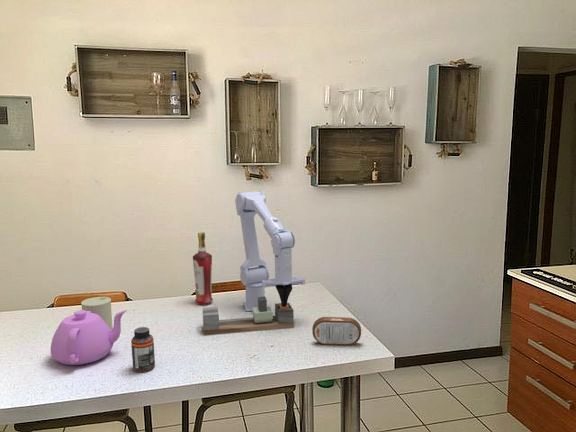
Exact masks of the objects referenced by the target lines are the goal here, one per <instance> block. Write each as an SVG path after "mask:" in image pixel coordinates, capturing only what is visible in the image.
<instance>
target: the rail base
mask: <svg viewBox="0 0 576 432" xmlns="http://www.w3.org/2000/svg"><path fill="white" fill-rule="evenodd" d="M280 304H281V302H279V303H278V302H276V303H274V315H273V319H272V322H260V323H254V318H253V316H252V317H241V318H239V317H238V318H229V319H219V317H220V316H219V310H218V306H206V307H202V326H203V327H202V328H203V329H202V330H203V336H210V335H211V336H212V335H222V334H233V333H246V332H256V331H257V332H259V331H267V330H268V331H269V330H279V329H291V328H292V329H293V328H295V322H294V321H295V320H294V315H295V314H294V308H293V307H292V305H291V303H289V302H287V304H288V306H289V308H286V309H279V305H280Z"/></svg>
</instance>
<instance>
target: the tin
mask: <svg viewBox="0 0 576 432" xmlns="http://www.w3.org/2000/svg"><path fill="white" fill-rule="evenodd" d="M311 330H312V336H313V338H314V340H315V341H316V342H317V343H318V344H320V345H325V346H326V345H327V346H353V345H355V344H357V343H358V342H359V341H360V339H361V335H362V327H361V324H360V323H359V322H358V320H357V319H354V318H352V317H345V316H344V317H341V316H339V317H336V316H322V317H319V318H318V319H316V320H315V321H314V323H313V325H312V329H311Z"/></svg>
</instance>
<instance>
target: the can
mask: <svg viewBox="0 0 576 432" xmlns="http://www.w3.org/2000/svg"><path fill="white" fill-rule="evenodd" d="M80 304H81V310H85V311H91V312H92V313H94V314H97V315H99V316H100V317H101V318H102V319H103V320H104V322H105V323H106V324H107V326H108V327H109V329H110V331H111V330H112V329H113V327H114V325H113V318H112V317H113V315H112V314H113V313H112V298H111V297H108V296H95V297H89V298H86V299H84V300H82V301H81V303H80Z"/></svg>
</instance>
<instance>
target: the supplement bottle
mask: <svg viewBox="0 0 576 432" xmlns="http://www.w3.org/2000/svg"><path fill="white" fill-rule="evenodd" d="M133 331H134V332H133V333H134V334H133V335H134V336H133V337H132V338H131V339H130V340H131V341H130V342H131V343H130V345H131V356H132V369H133V370H134V371H135V372H138V373H144V372H145V371H146V372H148V371H151V370H153V369H154V368H155V366H156V360H155V359H156V358H155V344H154V343H155V342H154V341H155V340H154V336H153V335H152V334H151V332H150V328H149V327H148V326H147V327H146V326H141V327H138V328H137V327H136V328H135V329H134V330H133ZM146 372H145V373H146Z"/></svg>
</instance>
